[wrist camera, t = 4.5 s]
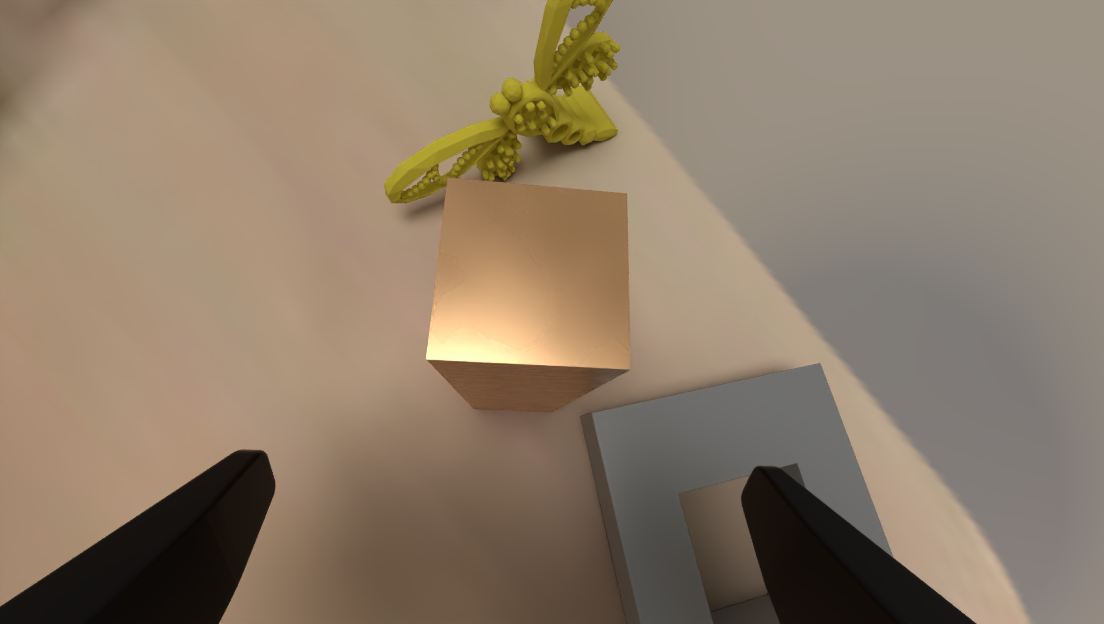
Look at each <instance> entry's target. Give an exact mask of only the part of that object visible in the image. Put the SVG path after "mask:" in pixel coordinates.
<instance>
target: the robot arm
mask: <svg viewBox="0 0 1104 624" xmlns="http://www.w3.org/2000/svg"><path fill="white" fill-rule="evenodd" d="M274 492H275V479H274V475H273V472H272V469H271V465H270V462H269V459H268V456H267V454H266V453H265V452H264V451H262V450H238V451H235V452H234V453H232V454H230V455H229V456H227V457H226V458H224V459H223V460H221V461H220V462H218V463H217V464H215V465H214V466H212V467H211V468H209V469H208V470H206V471H205V472H203V473H201V474H200V475H198V476H197V477H195V478H194V479H192V480H191V481H189V482H188V483H186V484H185V485H183V486H182V487H180V488H179V489H177V490H176V491H174V492H173V493H171V494H170V495H168V496H167V497H165V498H164V499H162V500H161V501H159V502H158V503H156V504H155V505H153V506H152V507H150V508H149V509H147V510H145V511H144V512H142V513H141V514H139V515H138V516H136V517H135V518H133V519H132V520H130V521H129V522H127V523H126V524H124V525H123V526H121V527H120V528H118V529H117V530H115V531H114V532H112V533H111V534H109V535H108V536H106V537H105V538H103V539H102V540H100V541H99V542H97V543H96V544H94V545H93V546H91V547H90V548H88V549H86V550H85V551H83V552H82V553H80V554H79V555H77V556H76V557H74V558H73V559H71V560H70V561H68V562H67V563H65V564H64V565H62V566H61V567H59V568H58V569H56V570H55V571H53V572H52V573H50V574H49V575H47V576H46V577H44V578H43V579H41V580H40V581H38V582H37V583H35V584H34V585H32V586H30V587H29V588H27V589H26V590H24V591H23V592H21V593H20V594H18V595H17V596H15V597H14V598H12V599H11V600H9V601H8V602H6V603H5V604H3V605H2V606H0V624H219V622H220V620H221V618H222V616H223V614H224V612H225V611H226V609H227V607H228V605H229V603H230V601H231V599H232V596H233V594H234V592H235V590H236V588H237V586H238V584H239V581H240V579H241V577H242V574H243V572H244V570H245V567H246V564H247V562H248V559H249V557H250V554H251V552H252V549H253V547H254V544H255V542H256V539H257V537H258V534H259V531H260V529H261V526H262V524H263V521H264V519H265V516H266V514H267V511H268V509H269V506H270V503H271V501H272V498H273V496H274ZM741 502H742V507H743V511H744V514H745V518H746V521H747V525H748V528H749V532H750V535H751V539H752V542H753V545H754V549H755V552H756V556H757V559H758V563H759V566H760V570H761V573H762V576H763V579H764V583H765V586H766V589H767V591H768V594H769V597H770V599H771V602H772V605H773V607H774V610H775V612H776V615H777V617H778V620H779V622H780V624H976V623H975V622H974V621H972V620H971V619H970V618H969V617H967V616H966V615H965V614H964V613H962V612H961V611H960V610H959V609H957V608H956V607H955V606H954V605H952V604H951V603H950V602H948V601H947V600H946V599H945V598H943V597H942V596H941V595H940V594H938V593H937V592H936V591H935V590H933V589H932V588H931V587H930V586H928V585H927V584H926V583H925V582H923V581H922V580H921V579H919V578H918V577H917V576H916V575H914V574H913V573H912V572H911V571H909V570H908V569H907V568H906V567H904V566H903V565H902V564H901V563H899V562H898V561H897V560H896V559H894V558H893V557H892V556H890V555H889V554H888V553H887V552H885V551H884V550H883V549H882V548H880V547H879V546H878V545H877V544H875V543H874V542H873V541H872V540H870V539H869V538H868V537H867V536H865V535H864V534H863V533H861V532H860V531H859V530H858V529H856V528H855V527H854V526H853V525H851V524H850V523H849V522H848V521H846V520H845V519H844V518H843V517H841V516H840V515H839V514H838V513H836V512H835V511H834V510H832V509H831V508H830V507H829V506H827V505H826V504H825V503H824V502H822V501H821V500H820V499H819V498H817V497H816V496H815V495H814V494H812V493H811V492H810V491H809V490H807V489H806V488H805V487H804V486H802V485H801V484H800V483H798V482H797V481H796V480H795V479H793V478H792V477H791V476H790V475H788V474H787V473H786V472H785V471H783V470H782V469H781V468H779V467H776V466H761V465H759V466H756V467H755V468H754V469H753V470H752V472H751V474H750V477H749V479H748V481H747V483H746V485H745V487H744V489H743V492H742V496H741Z"/></svg>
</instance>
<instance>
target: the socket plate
mask: <svg viewBox="0 0 1104 624" xmlns="http://www.w3.org/2000/svg"><path fill="white" fill-rule="evenodd" d="M580 417H581V421H582V426H583V430H584V435H585V439H586V443H587V448H588V452H589V457H590V461H591V466H592V470H593V475H594V479H595V484H596V488H597V492H598V497H599V501H600V506H601V510H602V515H603V519H604V524H605V528H606V533H607V537H608V541H609V546H610V550H611V555H612V559H613V564H614V568H615V573H616V577H617V582H618V586H619V590H620V595H621V599H622V604H623V608H624V613H625V617H626V622H627V624H780V622H779V620H778V617H777V615H776V612H775V610H774V607H773V605H772V602H771V599H770V597H769V594H768V595H765V596H762V597H758V598H755V599H752V600H749V601H746V602H742V603H739V604H736V605H733V606H730V607H726V608H723V609H720V610H717V611H714V612H710V609H709V606H708V602H707V598H706V594H705V591H704V587H703V583H702V580H701V576H700V572H699V569H698V565H697V561H696V557H695V554H694V550H693V546H692V543H691V539H690V535H689V531H688V528H687V524H686V520H685V517H684V513H683V509H682V505H681V502H680V498H679V494H680V493H683V492H687V491H691V490H695V489H699V488H703V487H707V486H710V485H714V484H718V483H722V482H726V481H730V480H734V479H737V478H741V477H745V476H749V475H750V474H751V472H752V470H753V469H754V468H755V467H756V466H759V465H761V466H776V467H779V468H781V469H782V470H783V471H785V472H786V473H787V474H788V475H790V476H791V477H792V478H793V479H795V480H796V481H797V482H798V483H800V484H801V485H802V486H804V487H805V488H806V489H807V490H809V491H810V492H811V493H812V494H814V495H815V496H816V497H817V498H819V499H820V500H821V501H822V502H824V503H825V504H826V505H827V506H829V507H830V508H831V509H832V510H834V511H835V512H836V513H838V514H839V515H840V516H841V517H843V518H844V519H845V520H846V521H848V522H849V523H850V524H851V525H853V526H854V527H855V528H856V529H858V530H859V531H860V532H861V533H863V534H864V535H865V536H867V537H868V538H869V539H870V540H872V541H873V542H874V543H875V544H877V545H878V546H879V547H880V548H882V549H883V550H884V551H885V552H887V553H888V554H889V555H890V556H892V557H893V555H892V552H891V550H890V547H889V544H888V542H887V539H886V537H885V534H884V531H883V529H882V526H881V523H880V521H879V518H878V515H877V513H876V510H875V507H874V505H873V502H872V499H871V497H870V494H869V491H868V489H867V486H866V483H865V481H864V478H863V475H862V473H861V470H860V467H859V465H858V462H857V459H856V457H855V454H854V451H853V449H852V446H851V443H850V441H849V438H848V435H847V433H846V430H845V428H844V425H843V422H842V420H841V417H840V414H839V412H838V409H837V406H836V404H835V401H834V398H833V396H832V393H831V390H830V388H829V385H828V382H827V380H826V377H825V374H824V372H823V369H822V366H821V364H820V363H818V364H813V365H809V366H804V367H800V368H795V369H791V370H786V371H781V372H777V373H772V374H768V375H763V376H759V377H754V378H749V379H745V380H740V381H736V382H731V383H727V384H722V385H717V386H713V387H708V388H704V389H699V390H695V391H690V392H685V393H681V394H676V395H672V396H667V397H663V398H658V399H654V400H649V401H644V402H640V403H635V404H631V405H626V406H622V407H617V408H612V409H608V410H603V411H599V412H594V413H590V414H587V415H583V416H580Z"/></svg>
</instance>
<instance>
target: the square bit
mask: <svg viewBox="0 0 1104 624" xmlns="http://www.w3.org/2000/svg"><path fill="white" fill-rule="evenodd" d="M426 359H427V361H428V362H429V363H430V364H431V365H432V366H433V367H434V368H435V369H436V370H437V371H438V372H439V373H440V374H441V375H442V376H443V377H444V378H445V379H446V380H447V381H448V383H449V384H450V385H451V386H452V387H453V388H454V389H455V390H456V391H457V392H458V393H459V394H460V395H461V396H462V397H463V398H464V399H465V400H466V401H467V402H468V404H469V405H470V406H471V407H472V408H473V409H495V410H520V411H545V412H553V411H555V410H557V409H558V408H560V407H562V406H564V405H566V404H568V403H570V402H571V401H573V400H575V399H577V398H579V397H581V396H583V395H584V394H586V393H588V392H590V391H592V390H594V389H595V388H597V387H599V386H601V385H603V384H605V383H607V382H608V381H610V380H612V379H614V378H616V377H618V376H620V375H621V374H623V373H625V372H627V371H629V370H631V369H630V318H629V267H628V217H627V194H625V193H614V192H603V191H592V190H581V189H570V188H559V187H548V186H537V185H526V184H515V183H504V182H493V181H482V180H471V179H459V178H448V177H447V186H446V194H445V203H444V212H443V220H442V229H441V237H440V246H439V255H438V263H437V272H436V280H435V289H434V298H433V306H432V315H431V323H430V332H429V340H428V349H427V358H426Z"/></svg>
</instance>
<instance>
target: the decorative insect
mask: <svg viewBox="0 0 1104 624" xmlns="http://www.w3.org/2000/svg"><path fill="white" fill-rule="evenodd" d="M612 1H613V0H548V1H547V3H546V6H545V11H544V15H543V20H542V25H541V30H540V34H539V39H538V44H537V48H536V53H535V58H534V73H535V77H534V78H533V79H532V82H530V81H526V82H524V83H522V84H521V82H520V81H518V80H517V79H514V78H508V79H507V80H506V81H505V82H503V85H502V93H497V92H496V93H495V94H494V95H493V96H492V97H491V99H490V108H491V110H492V112H493V113H495V114H497V115H500V117H499V118H494V119H491V120H487V121H483V122H479V123H475V124H473V125H470V126H468V127H466V128H463V129H461V130H459V131H456V132H454V133H452V134H449V135H447V136H445V137H442V138H440V139H438V140H435V141H434V142H432V143H431V144H429V145H428V146H426V147H425V148H423V149H422V150H420V151H419V152H417V153H416V154H414V155H413V156H412V157H410V158H409V159H407V160H406V161H404V162H403V163H401V164H400V165H398V166H397V168H396V169H395V170H394V172H393V173H392V174H391V175H390V177H389V178H388V179H387V180H386V182H385V183H384V187H385V193H386V195H387V197H388V198H389V200H390V202H391V203H408V202H411V201H414V200H417V199H420V198H423V197H425V196H428V195H430V194H433V193H435V192H437V191H438V190H440V189H442V188H444V187H446V186H447V177H448V178H459V177H460V176H461V175H462V174H464V173H465V172H466V171H467V170H469V169H470V168H471V167H472V166H474V165H475V164H476V163H477V167H478V169H479V170H480V171H481V173H482V176H483V178H484V179H485V181H494V179H495V176H497V175H498V176H499V177H501V178H502V179H503V180H504V181H505V180H507V179H508V177H509V176H511V172H512V173H513V172H515V170H516V168H515V167H514V166H513V164H514V161H513V159H514V160H515V161H516V162H517V163H518V162H520V161H521V157H520V156H519V155H518V153H517V152H516V149H520V148H521V147H522V144H521V143H520V142H519V141H518V140H517V135H516V134H518V135H522V136H527V137H529V136H537V135H543V136H544V138H545V139H546V140H547V142H548V143H554V142H558V141H561V142H562V143H563V145H571V144H574V143H576V142H577V141H578V140H579V142H580V143H581V145H582V146H583V145H585V144H587V143H590V142H592V141H593V140H594V141H604V140H607V139H609V138H611V137H613V136H614V135H616V134H617V132H618V129H617V128H616V126H615V125H614V124H613V122H612V121H611V119H610V118H609V117H608V115H607V114H606V112H605V111H604V110H603V108H602V107H601V105H600V104H599V103H598V101H597V100H596V98H595V97H594V95H593V94H592V93H591V91H590V89H591V87H592V86H591V85H592V83H593V81H594V80H593V78H592V77H593V76H594V77H596V76H598V77H599V78H600V80H601V81H604V80H605V79H606V78H607V76H609V75H611V70H610V69H609V67H608V65H609V66H610V68H611V69H612V70H615V69H616V68H617V66H618V64H617V63H616V62H615V61H614V59H613V56H614V53H617V52H619V50H620V45H618V44H617V43H616V42H614V41H613V40H612V39H611V37H609V36H608V35H607V34H606V33H605V32H598V33H594V32H595V30H596V28H597V27H598V25H599V23H600V21H601V20H602V18H603V16H604V15H605V13H606V11H607V9H608V8H609V6H610V4H611V3H612ZM587 4H588V5H591V6H592V5H594V6H595V7H596V8H595V9H594V11H592V13H591V15H588V16H586V17H585V20H584V21H580V22H579V23H578V25H577V28H578V29H577V28H573V29H572V30H571V32H570V36H567V37H565V38H564V43H563V44H560V45H559V46H558V51H556V52H555V50H556V47H557V44H558V41H559V39H560V36H561V33H562V30H563V28H564V25H565V22H566V19H567V16H568V13H569V11H570V8H572V9H574V8H576V7H578V5H580V6H585V5H587ZM579 31H580V32H579ZM579 83H581V84H582V86H579ZM570 87H572V88H570ZM557 89H563V90H564V92H565V94H564V96H562V95H557V96H556V95H555V94H556V92H557ZM467 148H468V152H467V151H465V152H463V154H462V156H463V158H462V157H459V158H458V159H457V163H454V164H453V168H452V169H451V170H450V172H448V173H447V174H445V175H443V176H440V175H439V174H438V173H439V171H438V167H439V165H438V164H439V163H441V162H443V161H445V160H446V159H448V158H450V157H452V156H454V155H456V154H458V153H460V152H462V151H464V150H465V149H467ZM430 168H431V169H430ZM429 169H430V170H429ZM428 170H429V171H428ZM426 171H427V173H426V176H424V177H423V178H422V181H419V182H418V183H417V185H414V186H412V189H410V188H409V189H407V190H406V191H402V190H403V189H405V188H406V187H407V186H408V185H410V184H411V183H412V182H414V181H415V180H416V179H417V178H419V177H420V176H421V175H423V174H424V173H425V172H426ZM431 179H433V180H434V181H433V182H431Z"/></svg>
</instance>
